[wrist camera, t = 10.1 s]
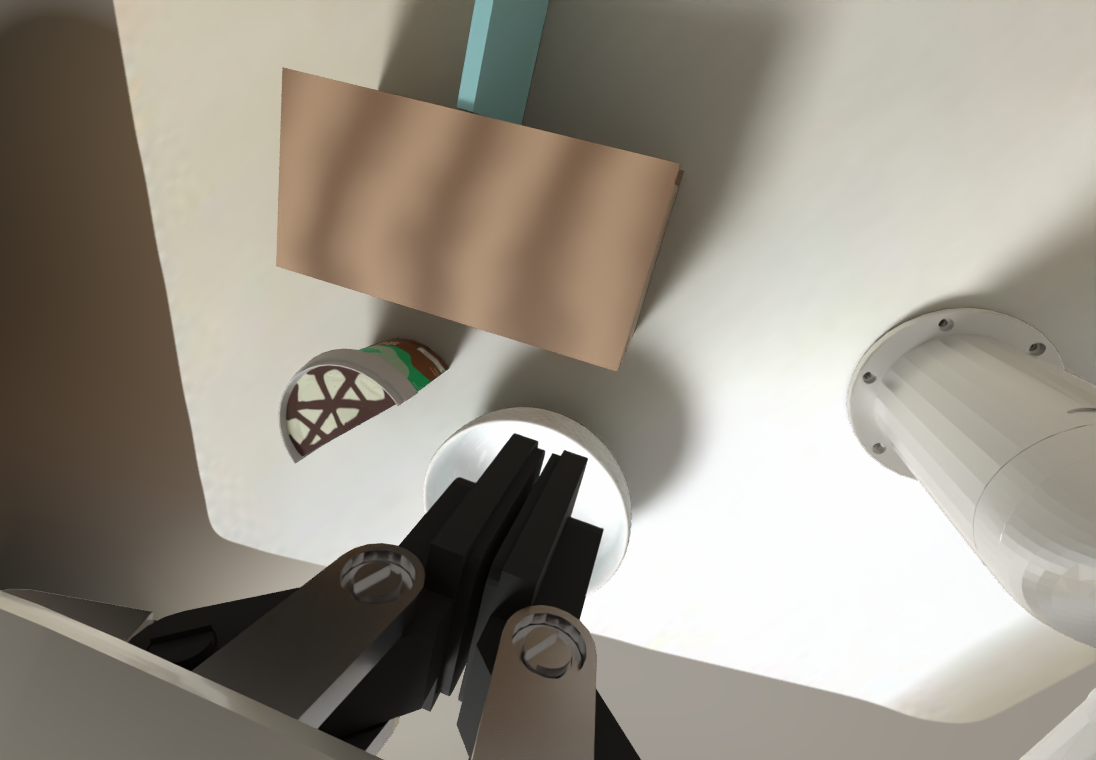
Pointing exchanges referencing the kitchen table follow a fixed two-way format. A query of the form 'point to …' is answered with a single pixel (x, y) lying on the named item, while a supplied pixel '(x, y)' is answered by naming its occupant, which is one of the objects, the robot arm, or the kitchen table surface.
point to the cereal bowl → (599, 491)
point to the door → (501, 57)
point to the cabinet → (470, 216)
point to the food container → (351, 390)
